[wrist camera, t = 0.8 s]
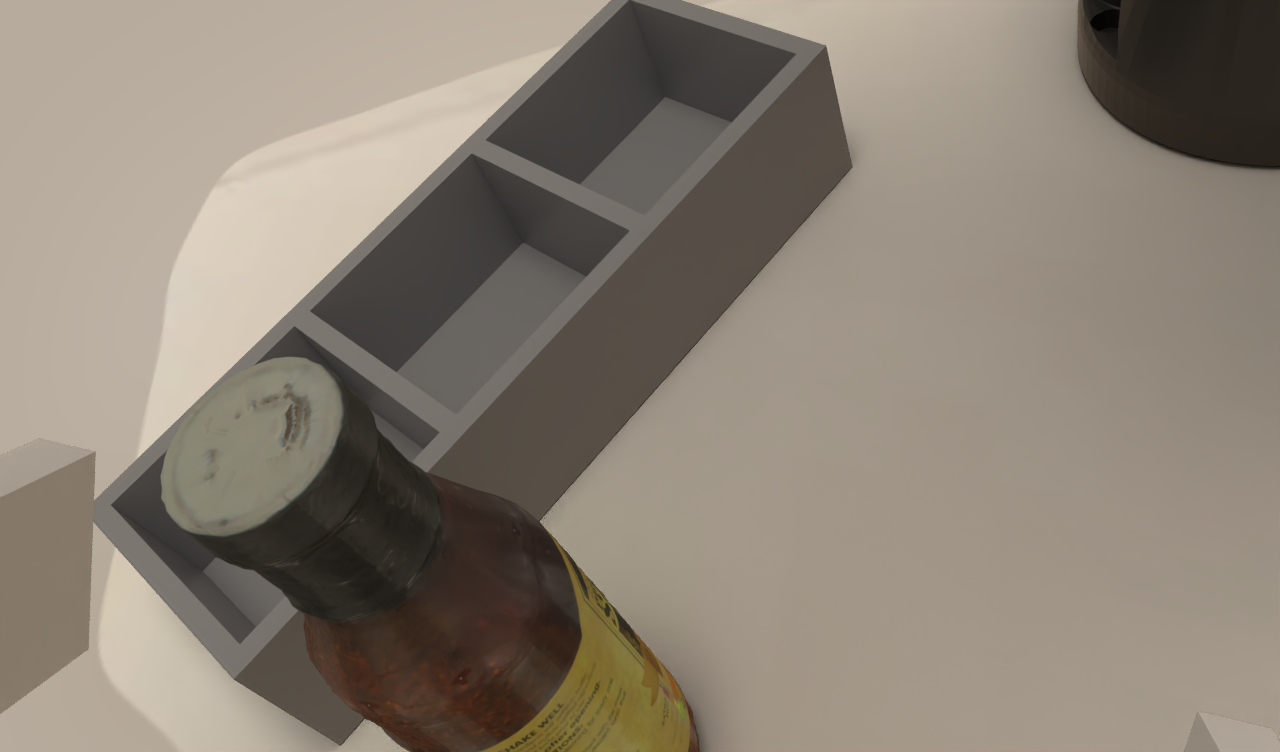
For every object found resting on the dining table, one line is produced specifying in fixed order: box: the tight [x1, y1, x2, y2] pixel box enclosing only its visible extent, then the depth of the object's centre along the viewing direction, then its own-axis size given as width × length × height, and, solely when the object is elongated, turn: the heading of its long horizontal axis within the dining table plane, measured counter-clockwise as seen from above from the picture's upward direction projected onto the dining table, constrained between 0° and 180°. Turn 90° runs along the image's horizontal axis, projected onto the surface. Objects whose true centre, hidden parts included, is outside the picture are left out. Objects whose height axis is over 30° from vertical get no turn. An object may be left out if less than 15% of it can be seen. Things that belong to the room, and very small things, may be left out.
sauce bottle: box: [161, 357, 699, 752], centre depth 29 cm, size 6×6×20 cm
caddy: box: [93, 0, 852, 745], centre depth 44 cm, size 30×11×6 cm, turn 138°
